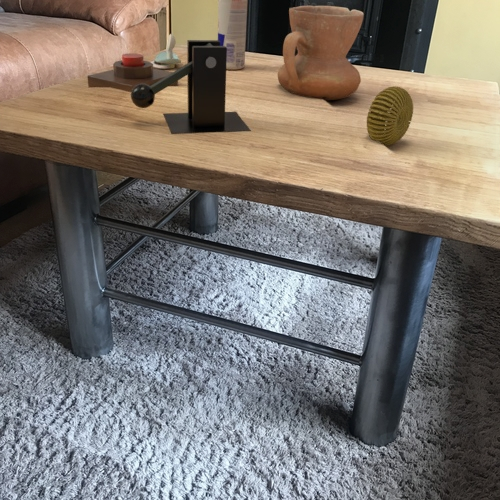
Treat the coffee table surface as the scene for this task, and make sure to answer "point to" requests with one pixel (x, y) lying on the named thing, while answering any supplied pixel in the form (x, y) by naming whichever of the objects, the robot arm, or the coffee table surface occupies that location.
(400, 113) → the sculpture
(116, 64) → the button block
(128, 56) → the button
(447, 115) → the coffee table surface
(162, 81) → the switch lever
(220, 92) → the switch bracket
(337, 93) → the ceramic jug
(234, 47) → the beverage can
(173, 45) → the pacifier
